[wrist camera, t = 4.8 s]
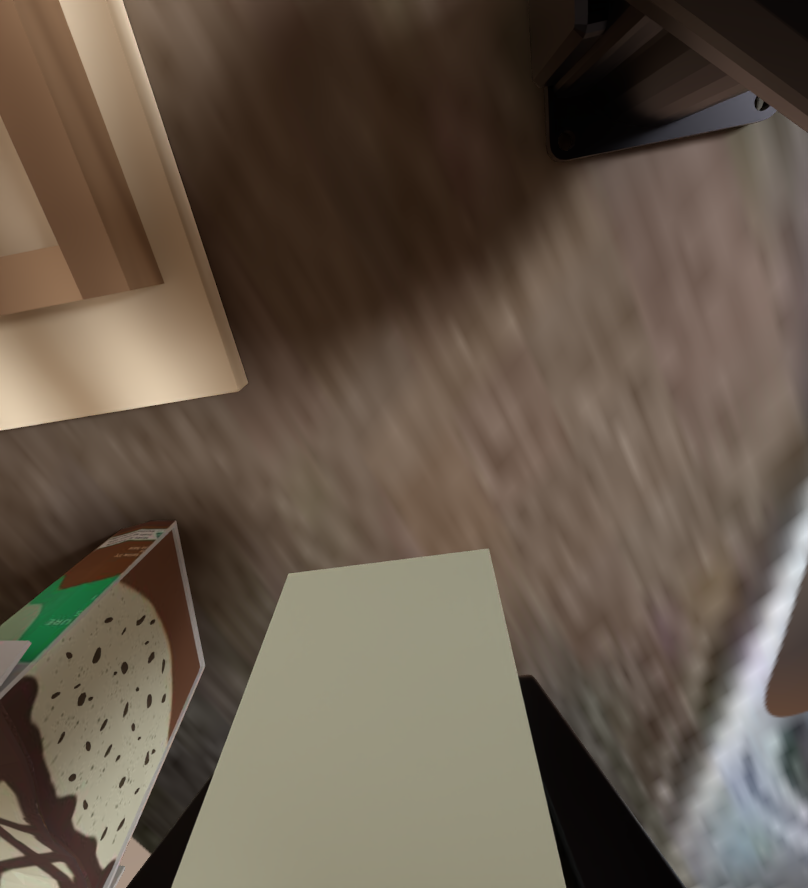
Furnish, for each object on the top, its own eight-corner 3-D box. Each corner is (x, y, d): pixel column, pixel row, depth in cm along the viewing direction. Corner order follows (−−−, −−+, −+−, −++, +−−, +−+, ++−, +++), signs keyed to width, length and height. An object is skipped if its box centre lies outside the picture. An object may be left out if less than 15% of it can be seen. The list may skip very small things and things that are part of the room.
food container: (29, 484, 20) (-297, 696, 11) (170, 491, 20) (-38, 710, 11) (97, 679, 25) (-84, 933, 16) (209, 685, 25) (90, 943, 16)
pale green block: (488, 548, 9) (606, 1064, 3) (505, 689, 10) (603, 1188, 5) (288, 573, 9) (102, 1073, 4) (335, 705, 11) (252, 1187, 5)
